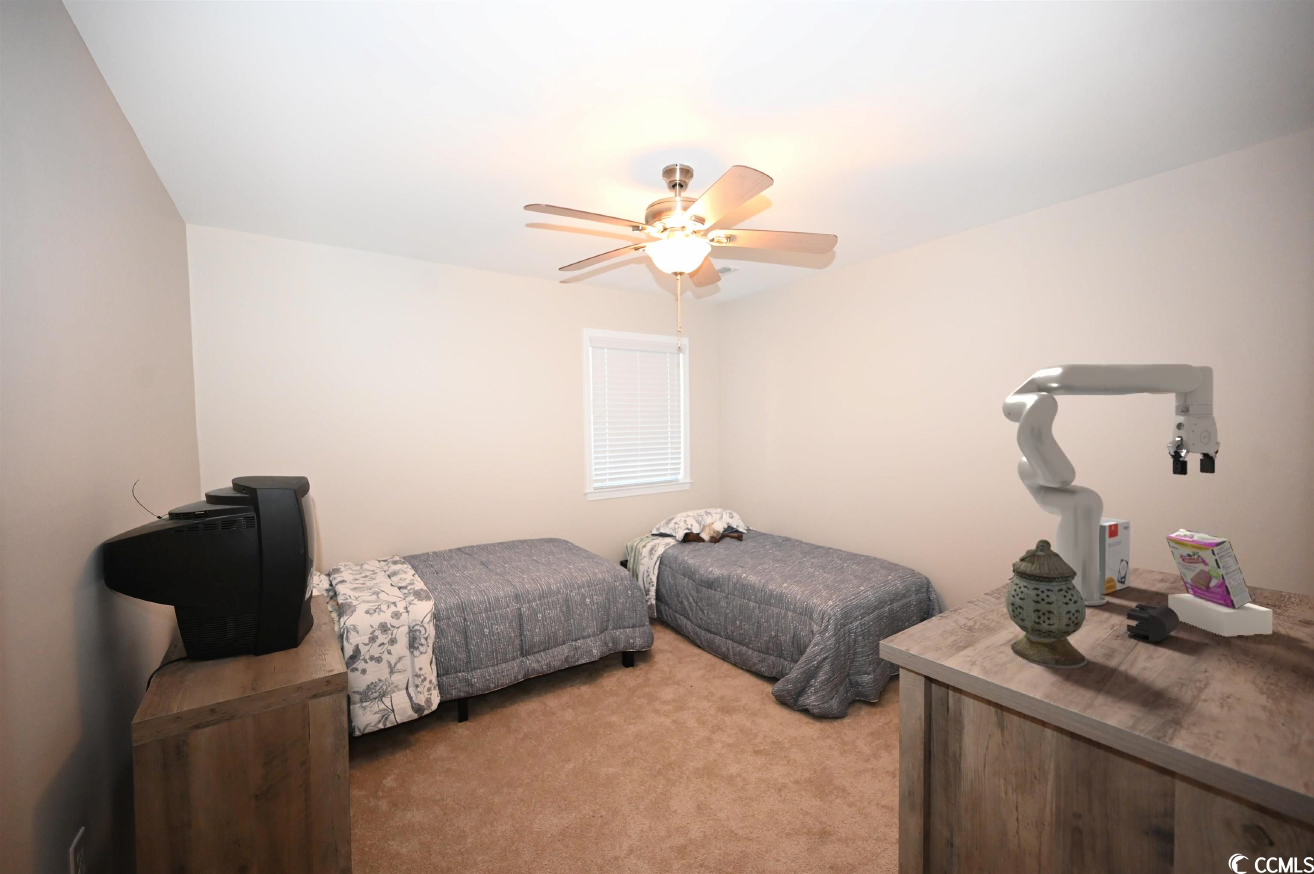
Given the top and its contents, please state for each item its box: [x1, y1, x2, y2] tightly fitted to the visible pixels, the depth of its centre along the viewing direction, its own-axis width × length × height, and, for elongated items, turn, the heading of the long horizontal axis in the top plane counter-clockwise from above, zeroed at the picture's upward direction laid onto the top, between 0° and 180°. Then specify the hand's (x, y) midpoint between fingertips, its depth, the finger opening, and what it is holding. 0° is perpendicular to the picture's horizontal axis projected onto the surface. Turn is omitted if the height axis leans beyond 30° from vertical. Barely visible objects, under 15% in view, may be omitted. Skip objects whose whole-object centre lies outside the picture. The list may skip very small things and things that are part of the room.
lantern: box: [1005, 539, 1088, 670], centre depth 121 cm, size 14×14×25 cm
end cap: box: [1126, 603, 1180, 644], centre depth 129 cm, size 10×7×7 cm
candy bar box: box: [1165, 528, 1253, 609], centre depth 134 cm, size 11×5×16 cm, turn 4°
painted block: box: [1167, 593, 1274, 637], centre depth 135 cm, size 12×13×6 cm
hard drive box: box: [1099, 516, 1131, 595], centre depth 165 cm, size 16×8×20 cm, turn 119°
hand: (1193, 473), depth 154 cm, fingers open, 9 cm apart
